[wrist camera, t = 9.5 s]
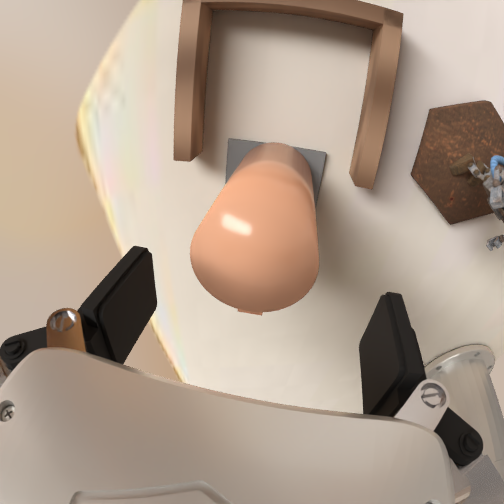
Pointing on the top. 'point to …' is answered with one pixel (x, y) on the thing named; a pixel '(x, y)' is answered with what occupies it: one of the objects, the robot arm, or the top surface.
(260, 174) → the peach rounded cylinder
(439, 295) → the top surface
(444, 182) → the robot figurine
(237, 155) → the mat
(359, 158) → the frame
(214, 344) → the top surface
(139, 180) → the top surface
